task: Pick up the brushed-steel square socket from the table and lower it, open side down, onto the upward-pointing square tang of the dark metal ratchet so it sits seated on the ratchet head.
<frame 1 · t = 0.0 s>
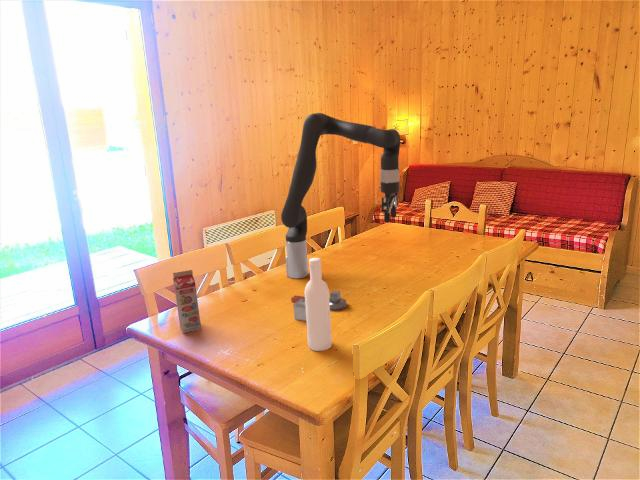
hand: (390, 219, 201), 29 cm above the table, fingers open, 8 cm apart
bottle: (320, 346, 161), on the table
juice carton: (190, 328, 180), on the table
socket: (304, 317, 183), on the table
ratchet: (335, 306, 191), on the table
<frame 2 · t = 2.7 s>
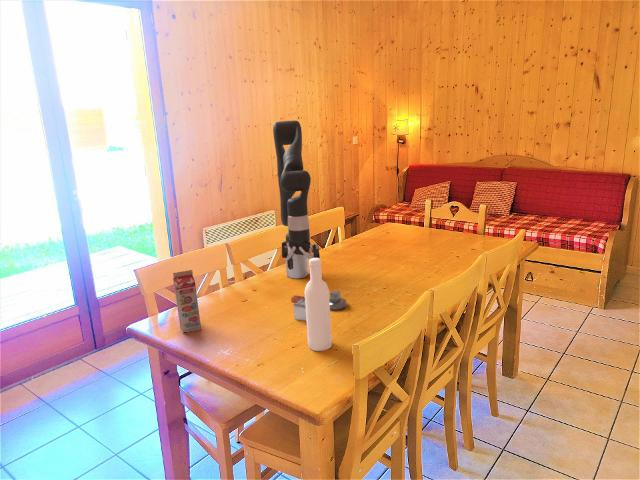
hand: (301, 270, 178), 19 cm above the table, fingers open, 8 cm apart
nothing on the table moved.
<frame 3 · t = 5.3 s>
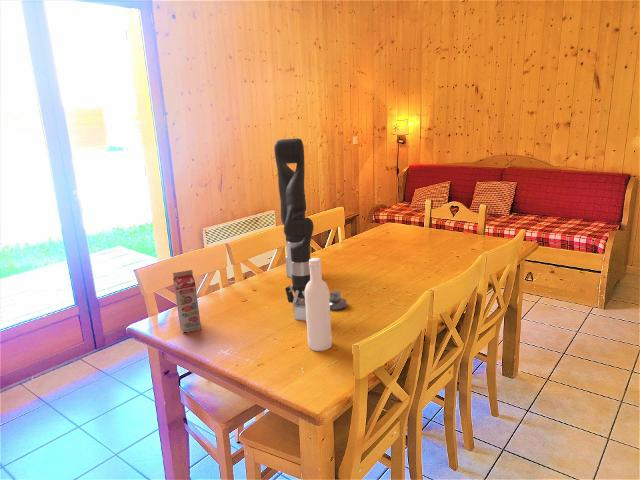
hand: (304, 314, 183), 1 cm above the table, fingers closed on socket, 5 cm apart
socket: (304, 317, 183), on the table, touching gripper
everything else where it was.
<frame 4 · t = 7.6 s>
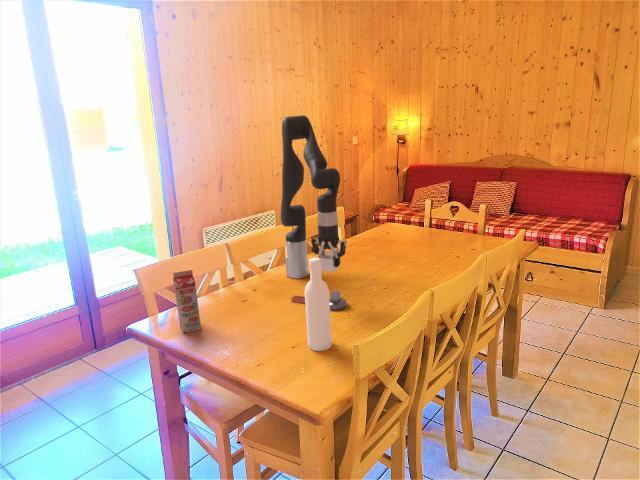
hand: (329, 265, 186), 17 cm above the table, fingers closed on socket, 5 cm apart
socket: (329, 268, 186), point 16 cm above the table, touching gripper
everything else where it was.
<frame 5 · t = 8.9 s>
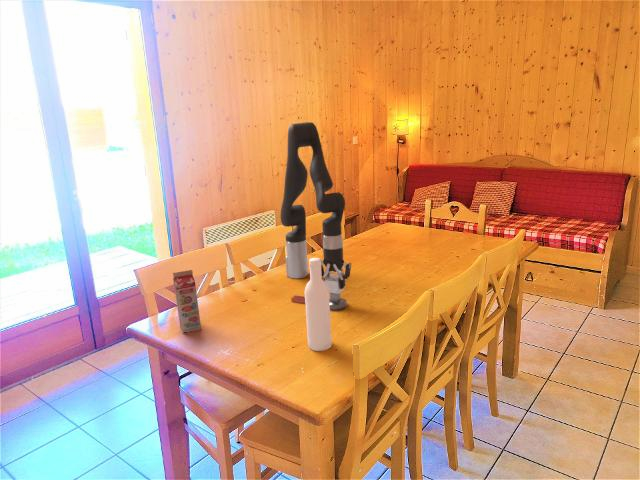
hand: (334, 287, 189), 8 cm above the table, fingers closed on socket, 5 cm apart
socket: (334, 290, 189), point 7 cm above the table, touching gripper
everything else where it was.
when the fingers open (4 cm above the table, at t = 10.2 s): socket stays where it is, resting on ratchet.
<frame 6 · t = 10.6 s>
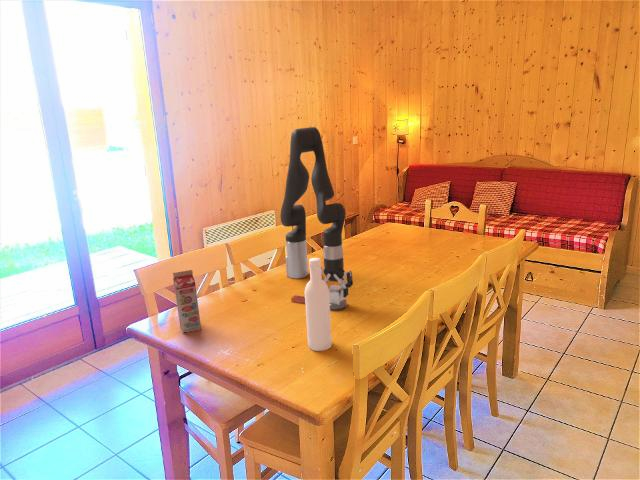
hand: (335, 295, 190), 5 cm above the table, fingers open, 8 cm apart
socket: (335, 301, 191), point 2 cm above the table, touching ratchet
ratchet: (335, 306, 191), on the table, touching socket
everything else where it was.
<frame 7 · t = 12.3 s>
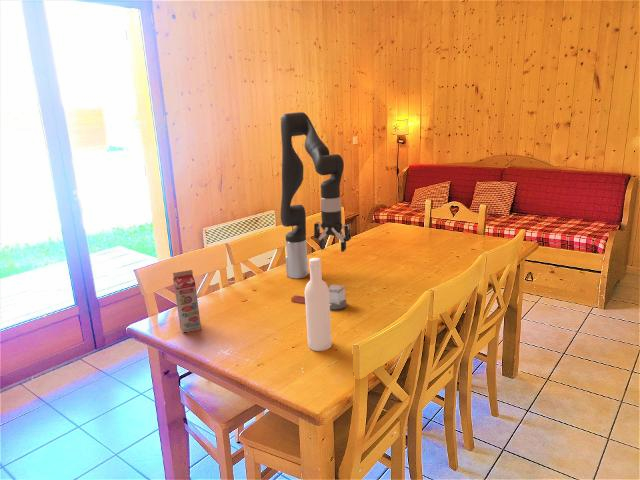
hand: (332, 250, 187), 22 cm above the table, fingers open, 8 cm apart
nothing on the table moved.
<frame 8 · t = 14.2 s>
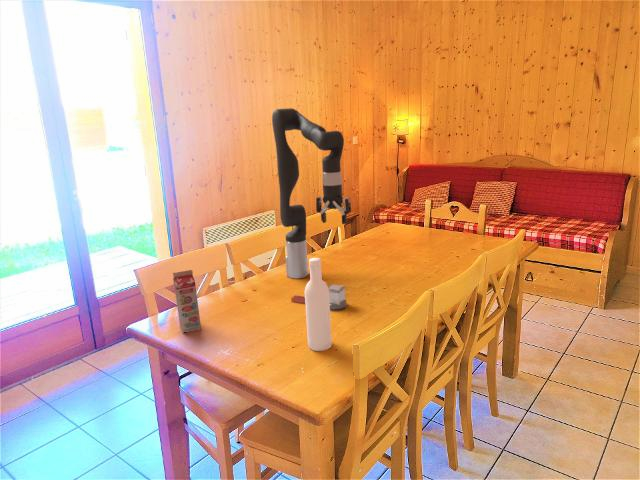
hand: (334, 223, 196), 30 cm above the table, fingers open, 8 cm apart
nothing on the table moved.
at the end: socket 0.1 cm from the ratchet (horizontally); socket point 1.9 cm above the table; socket tilted 0° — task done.
